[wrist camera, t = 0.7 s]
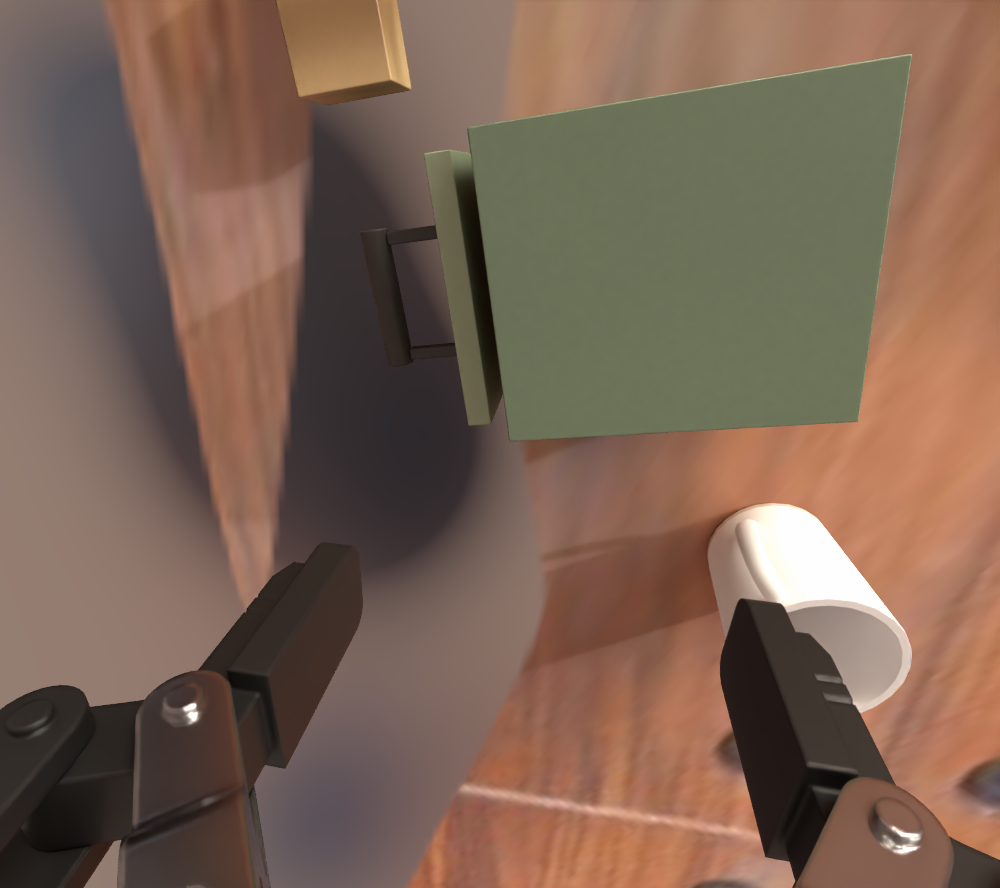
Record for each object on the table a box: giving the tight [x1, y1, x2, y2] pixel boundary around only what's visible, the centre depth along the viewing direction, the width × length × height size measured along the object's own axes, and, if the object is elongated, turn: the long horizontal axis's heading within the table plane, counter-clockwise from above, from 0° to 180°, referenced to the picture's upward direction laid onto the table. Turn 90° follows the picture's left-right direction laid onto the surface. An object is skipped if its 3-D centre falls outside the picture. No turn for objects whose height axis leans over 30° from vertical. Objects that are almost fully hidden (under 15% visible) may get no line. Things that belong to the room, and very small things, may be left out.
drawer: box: [360, 150, 503, 425], centre depth 29 cm, size 19×13×8 cm, turn 97°
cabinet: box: [467, 54, 912, 441], centre depth 28 cm, size 16×14×10 cm
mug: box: [707, 503, 912, 713], centre depth 35 cm, size 11×9×10 cm
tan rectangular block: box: [276, 0, 411, 105], centre depth 28 cm, size 8×5×4 cm, turn 7°
